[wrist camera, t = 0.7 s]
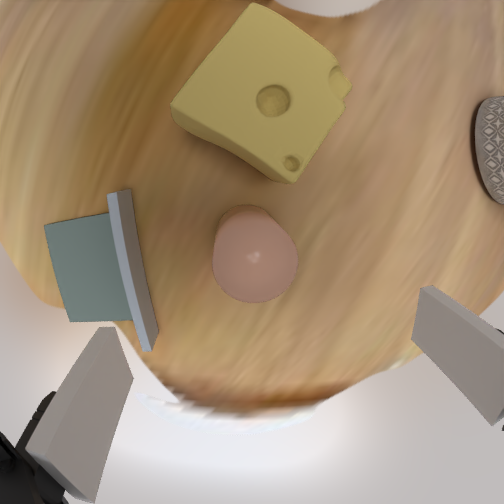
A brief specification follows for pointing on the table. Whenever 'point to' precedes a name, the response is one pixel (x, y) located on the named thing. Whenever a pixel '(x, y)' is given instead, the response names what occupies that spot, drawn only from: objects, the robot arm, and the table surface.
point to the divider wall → (132, 266)
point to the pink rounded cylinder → (253, 255)
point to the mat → (88, 269)
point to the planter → (491, 145)
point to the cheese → (264, 94)
